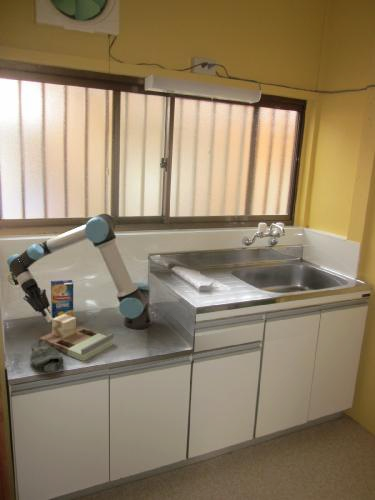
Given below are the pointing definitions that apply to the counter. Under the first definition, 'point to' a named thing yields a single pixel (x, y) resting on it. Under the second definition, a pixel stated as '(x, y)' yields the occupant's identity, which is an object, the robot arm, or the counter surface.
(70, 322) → the birch block
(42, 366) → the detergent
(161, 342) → the counter surface
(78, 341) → the box
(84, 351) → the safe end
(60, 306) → the beverage box
